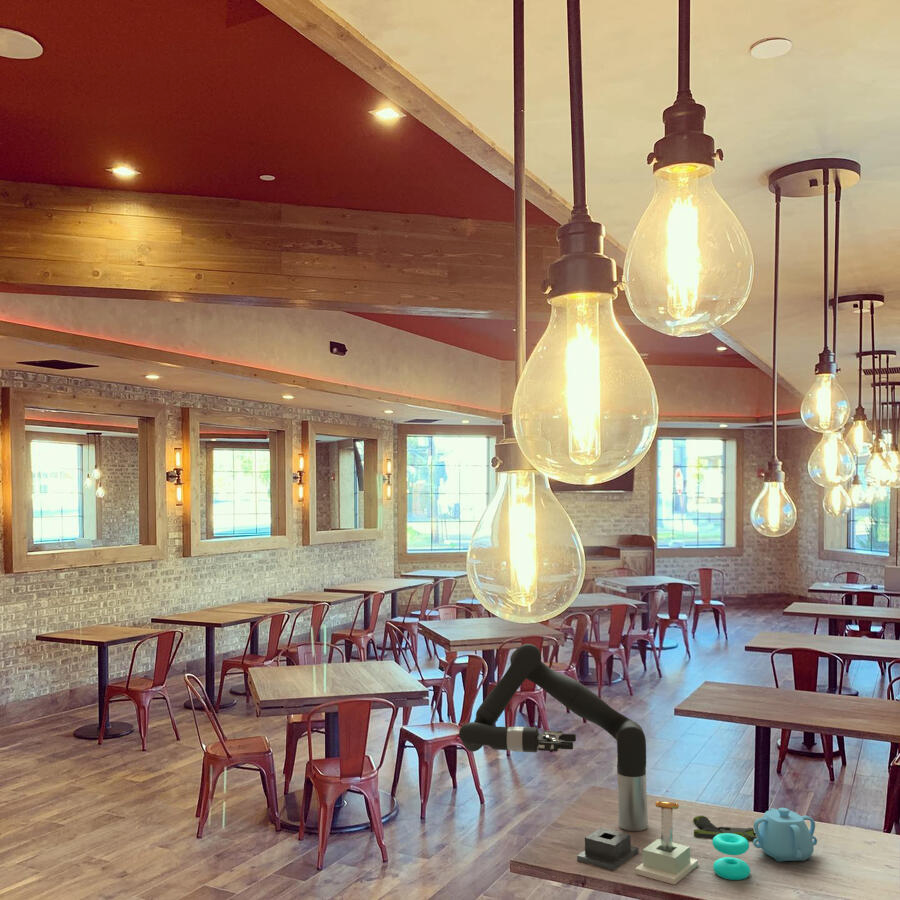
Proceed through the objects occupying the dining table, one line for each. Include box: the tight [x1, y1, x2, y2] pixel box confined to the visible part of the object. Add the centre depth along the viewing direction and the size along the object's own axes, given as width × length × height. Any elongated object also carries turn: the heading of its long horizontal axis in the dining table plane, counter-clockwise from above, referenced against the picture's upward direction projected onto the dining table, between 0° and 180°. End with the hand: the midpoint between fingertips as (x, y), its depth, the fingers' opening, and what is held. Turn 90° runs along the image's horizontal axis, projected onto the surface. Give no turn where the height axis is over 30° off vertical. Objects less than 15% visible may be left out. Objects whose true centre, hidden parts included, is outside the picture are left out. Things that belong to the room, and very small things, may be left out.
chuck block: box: [576, 827, 640, 872], centre depth 262 cm, size 16×12×6 cm
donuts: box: [711, 833, 751, 881], centre depth 248 cm, size 10×10×10 cm
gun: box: [692, 815, 757, 842], centre depth 280 cm, size 2×19×15 cm
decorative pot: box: [752, 807, 818, 863], centre depth 261 cm, size 16×16×14 cm
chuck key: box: [654, 801, 679, 853], centre depth 252 cm, size 7×3×18 cm, turn 77°
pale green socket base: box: [634, 838, 699, 885], centre depth 252 cm, size 16×12×6 cm
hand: (574, 741), depth 271 cm, fingers open, 8 cm apart
